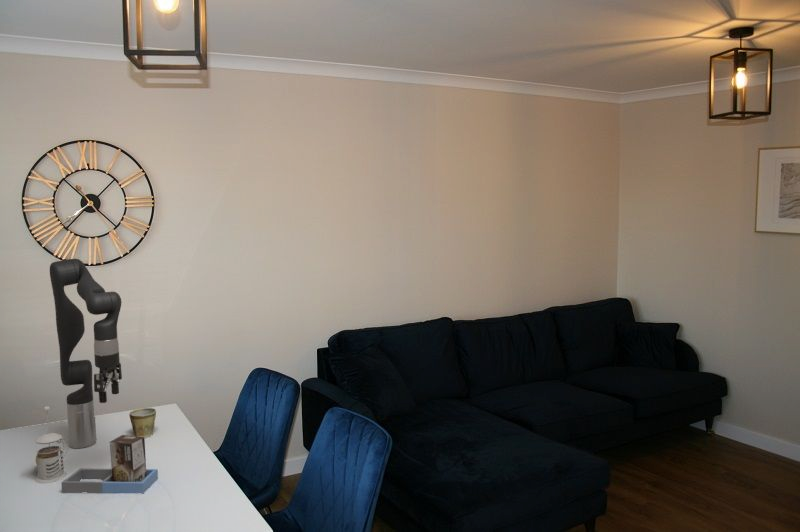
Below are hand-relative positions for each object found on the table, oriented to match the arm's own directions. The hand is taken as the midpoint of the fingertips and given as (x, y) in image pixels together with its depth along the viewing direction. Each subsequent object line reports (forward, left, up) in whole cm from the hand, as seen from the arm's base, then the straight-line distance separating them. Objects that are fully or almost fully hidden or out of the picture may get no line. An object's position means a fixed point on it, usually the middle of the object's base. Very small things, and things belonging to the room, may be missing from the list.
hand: (109, 398), depth 213 cm
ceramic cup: (-41, -8, -28) cm, 50 cm away
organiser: (+6, +2, -28) cm, 29 cm away
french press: (-1, -22, -28) cm, 36 cm away
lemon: (-6, -28, -28) cm, 40 cm away
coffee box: (+6, +9, -28) cm, 30 cm away
